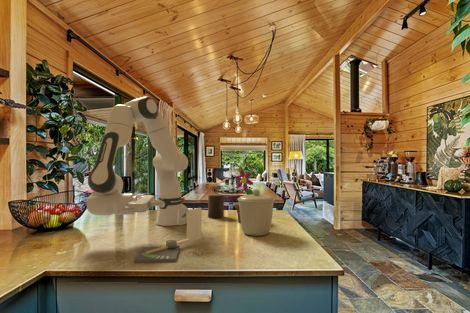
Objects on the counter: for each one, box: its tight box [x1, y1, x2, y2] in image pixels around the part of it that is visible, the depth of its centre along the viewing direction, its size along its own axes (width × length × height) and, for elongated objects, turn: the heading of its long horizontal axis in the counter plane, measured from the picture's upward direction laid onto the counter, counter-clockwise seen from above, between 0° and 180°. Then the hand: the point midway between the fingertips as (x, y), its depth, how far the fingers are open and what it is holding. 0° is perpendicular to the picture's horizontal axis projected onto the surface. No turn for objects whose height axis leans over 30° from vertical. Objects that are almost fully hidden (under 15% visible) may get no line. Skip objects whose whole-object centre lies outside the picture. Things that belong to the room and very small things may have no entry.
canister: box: [236, 188, 276, 237], centre depth 131 cm, size 18×18×21 cm
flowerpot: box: [234, 169, 254, 224], centre depth 155 cm, size 14×14×30 cm
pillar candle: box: [207, 193, 225, 219], centre depth 168 cm, size 10×10×15 cm
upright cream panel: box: [145, 207, 203, 254], centre depth 107 cm, size 26×4×13 cm, turn 139°
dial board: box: [133, 245, 181, 264], centre depth 100 cm, size 14×14×1 cm
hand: (161, 202), depth 117 cm, fingers closed
